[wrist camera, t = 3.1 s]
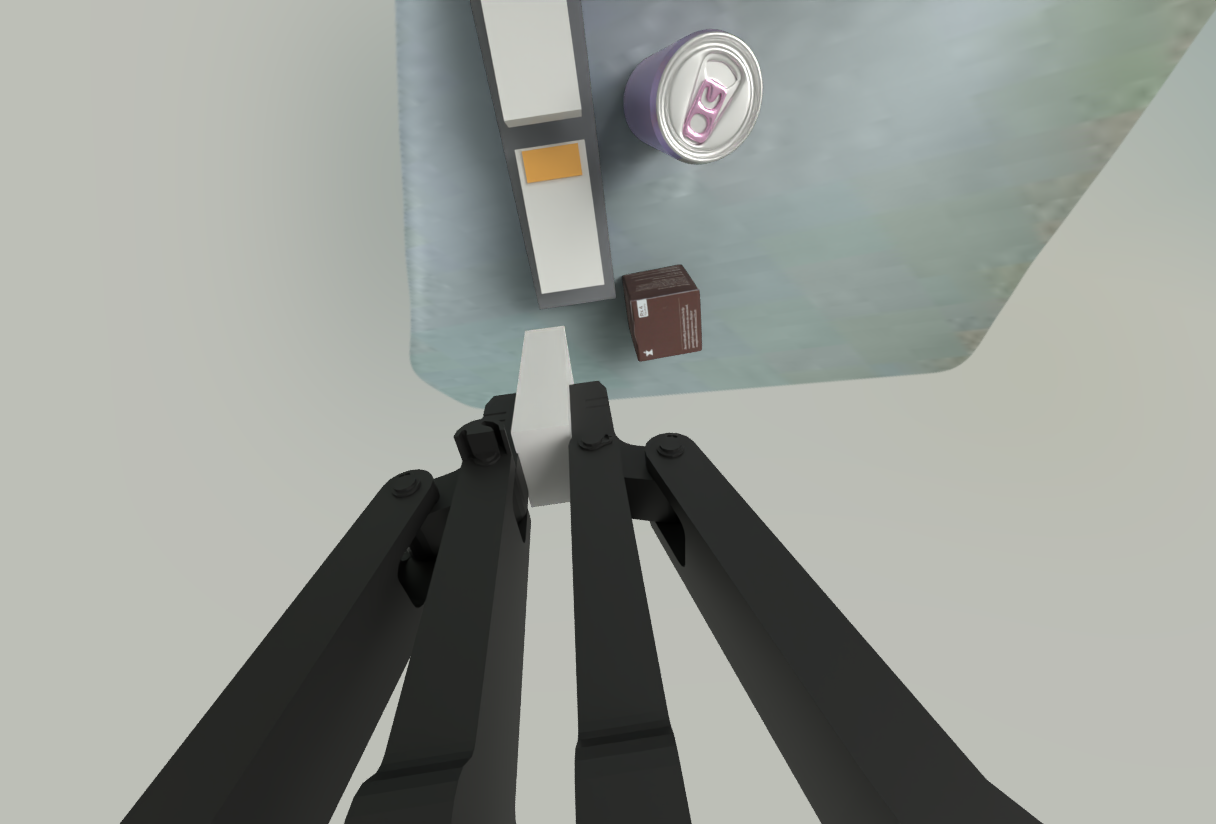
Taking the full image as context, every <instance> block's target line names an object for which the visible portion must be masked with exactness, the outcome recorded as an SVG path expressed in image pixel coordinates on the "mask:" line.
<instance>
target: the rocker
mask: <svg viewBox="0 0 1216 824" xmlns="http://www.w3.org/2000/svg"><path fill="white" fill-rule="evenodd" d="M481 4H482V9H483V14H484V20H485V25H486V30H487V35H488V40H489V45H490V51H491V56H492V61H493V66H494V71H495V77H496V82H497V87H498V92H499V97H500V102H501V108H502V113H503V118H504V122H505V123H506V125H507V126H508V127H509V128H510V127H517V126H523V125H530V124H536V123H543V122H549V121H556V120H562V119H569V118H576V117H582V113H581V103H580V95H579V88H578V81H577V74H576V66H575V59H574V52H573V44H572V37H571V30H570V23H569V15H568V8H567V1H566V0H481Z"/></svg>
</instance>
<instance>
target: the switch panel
mask: <svg viewBox="0 0 1216 824" xmlns="http://www.w3.org/2000/svg"><path fill="white" fill-rule="evenodd" d="M566 1H567V8H568V15H569V23H570V30H571V37H572V44H573V52H574V59H575V66H576V74H577V81H578V88H579V95H580V103H581V113H582V117H576V118H569V119H562V120H556V121H549V122H543V123H536V124H530V125H523V126H517V127H510V128H509V127H508V126H507V125H506V123H505V122H504V118H503V113H502V108H501V102H500V97H499V92H498V87H497V82H496V77H495V71H494V66H493V61H492V56H491V51H490V45H489V40H488V35H487V30H486V25H485V20H484V14H483V9H482V4H481V0H470V3H471V8H472V12H473V16H474V21H475V25H476V30H477V34H478V38H479V43H480V47H481V52H482V56H483V61H484V65H485V69H486V74H487V78H488V83H489V87H490V92H491V96H492V100H493V105H494V109H495V114H496V118H497V123H498V127H499V131H500V136H501V140H502V145H503V149H504V153H505V158H506V162H507V167H508V171H509V176H510V180H511V184H512V189H513V193H514V198H515V202H516V207H517V211H518V215H519V220H520V224H521V229H522V233H523V238H524V242H525V246H526V251H527V255H528V260H529V264H530V268H531V273H532V277H533V282H534V286H535V291H536V295H537V299H538V304H539V308H540V309H547V308H554V307H560V306H567V305H574V304H580V303H587V302H594V301H600V300H607V299H614V298H616V294H615V285H614V277H613V268H612V260H611V251H610V243H609V235H608V226H607V218H606V209H605V201H604V192H603V184H602V175H601V167H600V158H599V150H598V141H597V133H596V124H595V116H594V107H593V99H592V91H591V82H590V74H589V65H588V57H587V48H586V40H585V31H584V23H583V14H582V6H581V0H566ZM583 139H584V140H585V147H586V155H587V162H588V169H589V176H590V184H591V191H592V198H593V205H594V213H595V220H596V227H597V234H598V242H599V249H600V256H601V263H602V270H603V278H604V285H597V286H591V287H584V288H577V289H571V290H564V291H557V292H551V293H544V294H542V292H541V287H540V281H539V276H538V271H537V266H536V260H535V255H534V250H533V245H532V239H531V234H530V229H529V223H528V218H527V213H526V208H525V202H524V197H523V192H522V187H521V181H520V176H519V171H518V165H517V160H516V155H515V150H517V149H524V148H531V147H537V146H544V145H550V144H557V143H563V142H570V141H577V140H583Z"/></svg>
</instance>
